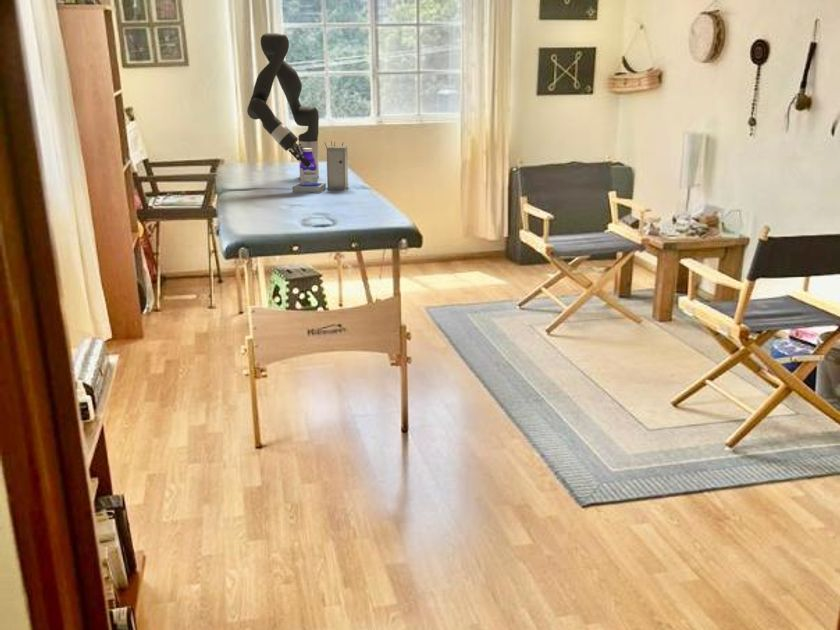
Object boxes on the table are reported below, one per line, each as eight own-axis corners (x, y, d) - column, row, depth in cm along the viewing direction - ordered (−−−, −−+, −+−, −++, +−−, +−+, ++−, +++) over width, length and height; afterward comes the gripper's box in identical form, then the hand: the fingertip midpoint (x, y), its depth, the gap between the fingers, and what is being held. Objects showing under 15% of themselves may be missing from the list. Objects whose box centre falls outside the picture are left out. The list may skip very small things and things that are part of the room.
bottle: (302, 190, 347) (301, 149, 342) (299, 188, 352) (297, 148, 347) (319, 189, 350) (317, 148, 345) (314, 187, 355) (313, 147, 350)
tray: (299, 188, 357) (298, 182, 356) (325, 188, 356) (325, 183, 355) (292, 192, 346) (292, 186, 345) (319, 192, 345) (319, 187, 344)
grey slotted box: (330, 187, 361) (329, 146, 356) (348, 187, 360) (347, 146, 355) (327, 189, 354) (326, 147, 349) (345, 189, 353) (344, 148, 348)
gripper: (285, 132, 337) (313, 160, 340) (294, 129, 351) (320, 156, 353) (274, 144, 339) (301, 172, 342) (282, 141, 353) (309, 168, 355)
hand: (311, 164), depth 347 cm, fingers open, 8 cm apart
